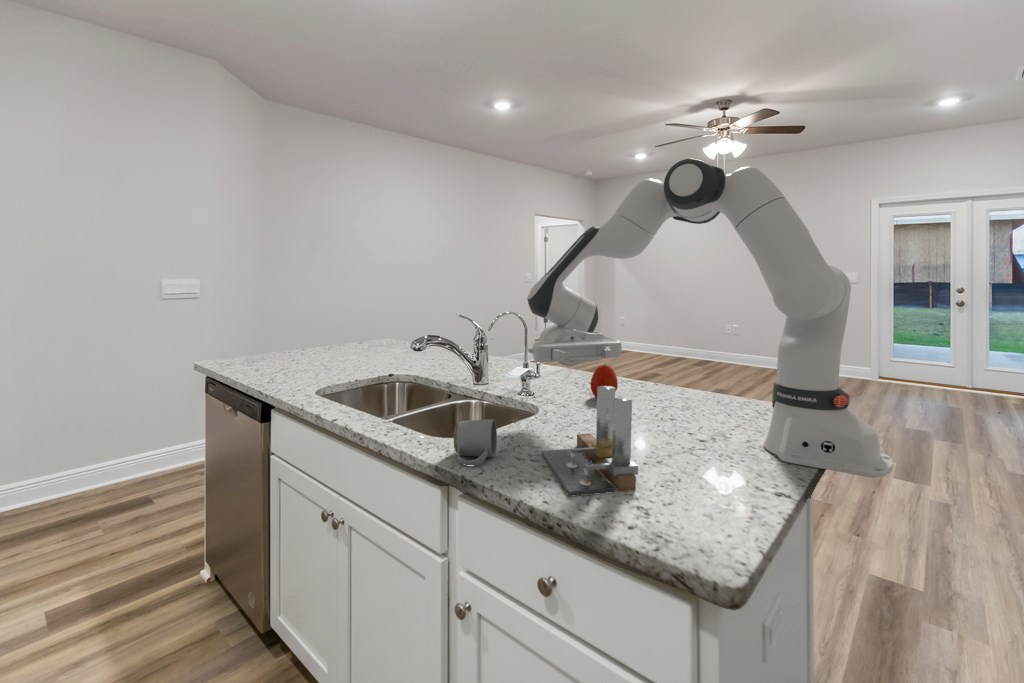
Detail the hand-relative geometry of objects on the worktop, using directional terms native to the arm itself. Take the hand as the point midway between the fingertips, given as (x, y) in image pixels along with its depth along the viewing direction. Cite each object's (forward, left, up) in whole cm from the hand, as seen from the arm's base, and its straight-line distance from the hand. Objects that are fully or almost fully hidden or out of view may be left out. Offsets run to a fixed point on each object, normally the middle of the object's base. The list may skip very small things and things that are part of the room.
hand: (587, 355), depth 105 cm
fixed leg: (-15, +13, -19) cm, 28 cm away
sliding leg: (-8, +9, -19) cm, 22 cm away
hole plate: (-7, +13, -20) cm, 25 cm away
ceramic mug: (+12, +21, -21) cm, 32 cm away
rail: (-9, +6, -20) cm, 23 cm away
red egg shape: (+22, -38, -21) cm, 48 cm away
